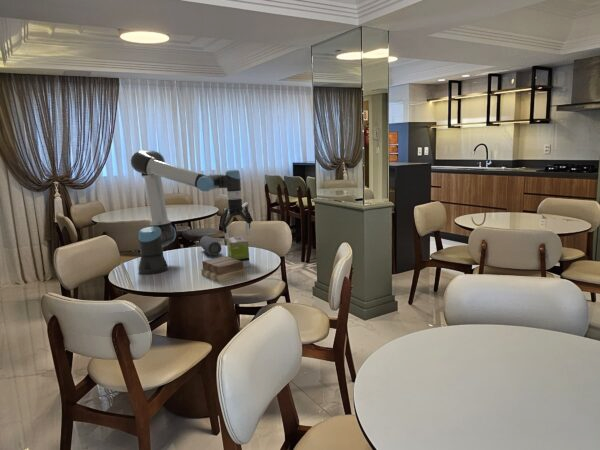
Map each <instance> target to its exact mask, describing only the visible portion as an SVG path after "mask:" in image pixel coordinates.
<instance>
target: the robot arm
mask: <svg viewBox="0 0 600 450" xmlns="http://www.w3.org/2000/svg"><path fill="white" fill-rule="evenodd" d="M130 165H131V167H132V168H133V170H135V172H138V173H140V174H141V177H142V178H143V179H144V180H145V187H146V192H147V193H146V194H147V199H148V205H149V211H150V216H151V217H150V218H151V221H150V224H149V226H147V227H143V228H141V229H140V230H139V231H138V246H139V253H140V261H139V264H138V273H139V274H142V275H155V274H161V273H163V272H166V271H168V269H169V268H168V263H167V260H166V259H165V256H164V249H163V248H164V247H166V246H169V245H171V244H173V242H174V241H175V239H176V237H177V233H176V232H177V231H176V228H175V227H173V225H172V221H171V220H170V219H168V212H167V207H166V202H165V195H164V189H163V188H164V186H163V180H162V178H165V179H168V180H171V181H174V182H177V183H179V184H183V185H186V186H190V187H194V188H197V189H199V191H201V192H210V191H213V190H216V189H226V191H227V193H226V194H227V203H228V204H227V207H228V208H223V213H222V216H221V219H220V222H219V227H221V228H222V230H223V231H222V232H223V234H224V238H225V240H227V239H229V238H230V236H229V235H230V234H229V227H228V225H229V224H230V222H231V220H232V219H233V218H234V217H236V216H240V217H241V219H242V220H244V222H245V223H244V226H245V235H246V236H250V235H251V233H250V232H251V231H250V229H251V224H252V222H253V221H254V219H253V217H252V216H251V213H250V212H249V209H248V206H247V205H243V199H242V186H241V184H242V183H241V174H240V171H239V170H238V169H231V170H226V171H225V173H224V174H223V173H222V174H208V175H207V174H202V173H199V172H195V171H193V170H189V169H186V168H184V167H180V166H176V165H173V164H170V163H167V162H166V161H165V157H164V156H163V155H162V153H161V152H158V151H155V150H139V151H136V152H134V153H133V155H132V156H131V159H130Z"/></svg>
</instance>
